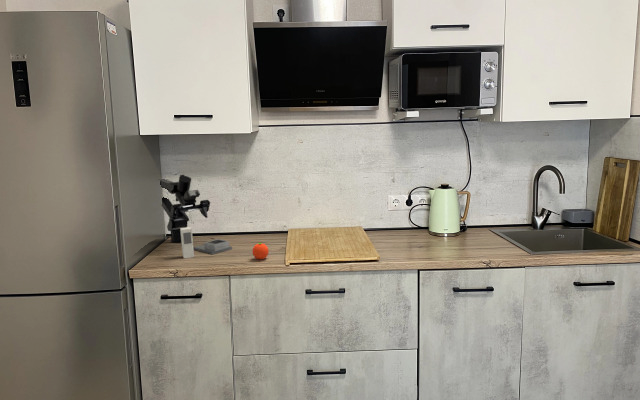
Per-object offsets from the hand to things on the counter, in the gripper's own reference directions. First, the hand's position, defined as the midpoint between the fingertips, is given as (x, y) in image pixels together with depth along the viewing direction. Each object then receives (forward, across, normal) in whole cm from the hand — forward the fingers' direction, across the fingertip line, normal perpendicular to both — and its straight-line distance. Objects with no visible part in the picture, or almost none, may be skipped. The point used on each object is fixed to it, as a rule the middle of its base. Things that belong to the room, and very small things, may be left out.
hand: (198, 218), depth 230 cm
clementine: (+38, +11, -5) cm, 40 cm away
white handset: (+14, -9, +9) cm, 19 cm away
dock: (+11, +4, +11) cm, 16 cm away
